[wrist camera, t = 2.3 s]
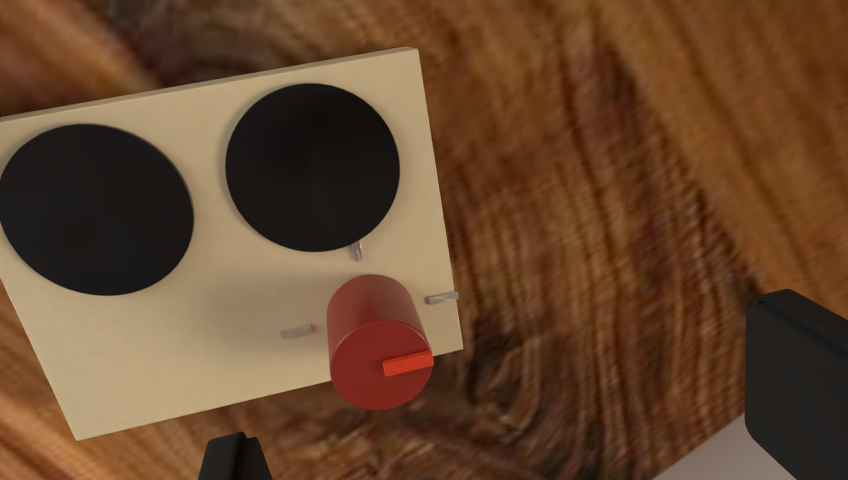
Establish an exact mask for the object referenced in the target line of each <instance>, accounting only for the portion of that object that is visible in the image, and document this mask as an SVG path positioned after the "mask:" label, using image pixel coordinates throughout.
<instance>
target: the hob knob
mask: <svg viewBox="0 0 848 480" xmlns="http://www.w3.org/2000/svg"><path fill="white" fill-rule="evenodd" d="M326 318H327V335H328V351H329V367H330V376H331V380H332V383H333V385H334V387H335V389H336V390H337V392H338V393H339V394H340V395H341V396H342V397H343V398H344V399H345V400H346V401H348V402H349V403H351V404H353V405H355V406H357V407H360V408H363V409H368V410H386V409H391V408H394V407H398V406H400V405H402V404H404V403H406V402H408V401H410V400H411V399H412V398H414V397H415V396H416V395H417V394H418V393H419V392H420V391H421V390H422V389H423V387H424V386H425V384H426V383H427V381H428V379H429V377H430V374H431V371H432V366H433V365H434V362H433V356H432V351H431V348H430V345H429V342H428V340H427V337H426V334H425V332H424V329H423V327H422V324H421V321H420V319H419V316H418V313H417V311H416V308H415V305H414V303H413V300H412V298H411V296H410V294H409V292H408V291H407V290H406V288H405V287H404V286H403V285H402V284H400V283H399V282H397V281H396V280H394V279H392V278H390V277H387V276H383V275H363V276H359V277H356V278H354V279H351V280H350V281H348V282H346V283H345V284H343V285H342V286H341V287H340V288H339V289H338V290H337V291H336V292H335V293H334V295H333V296H332V298H331V300H330V302H329V304H328V308H327V314H326Z"/></svg>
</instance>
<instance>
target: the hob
mask: <svg viewBox="0 0 848 480" xmlns="http://www.w3.org/2000/svg"><path fill="white" fill-rule="evenodd" d="M300 83H322V84H328V85H333V86H336V87H340V88H343V89H345V90H347V91H349V92H352V93H354V94H355V95H357V96H359V97H360V98H362V99H363V100H365V101H366V102H367V103H368V104H370V105H371V106H372V107H373V108H374V109H375V110H376V111H377V112H378V113H379V114H380V116H381V117H382V118H383V120H384V121H385V122H386V124H387V125H388V127H389V129H390V131H391V133H392V134H393V137H394V139H395V142H396V145H397V149H398V153H399V159H400V180H399V186H398V190H397V194H396V197H395V199H394V202H393V204H392V206H391V208H390V210H389V211H388V213H387V215H386V216H385V218H384V219H383V220H382V221H381V222H380V224H379V225H378V226H377V227H376V228H375V229H374V230H373V231H372V232H370V233H369V234H368V235H366V236H365V237H364V238H362V239H360V240H359V241H357V242H355V243H353V244H351V245H348V246H346V247H344V248H340V249H336V250H332V251H326V252H303V251H297V250H292V249H288V248H286V247H283V246H280V245H278V244H276V243H274V242H272V241H269V240H268V239H266V238H265V237H263V236H262V235H260V234H259V233H258V232H257V231H255V230H254V229H253V228H252V227H251V226H250V225H249V224H248V223H247V222H246V221H245V220H244V218H243V217H242V216H241V214H240V213H239V211H238V210H237V208H236V206H235V204H234V202H233V200H232V198H231V195H230V192H229V190H228V186H227V181H226V173H225V158H226V151H227V147H228V143H229V140H230V137H231V134H232V132H233V130H234V128H235V127H236V125H237V123H238V121H239V120H240V119H241V117H242V116H243V115H244V113H245V112H246V111H247V110H248V109H249V108H250V107H251V106H252V105H253V104H254V103H255V102H257V101H258V100H259V99H261V98H262V97H264V96H265V95H267V94H269V93H271V92H272V91H275V90H277V89H280V88H282V87H285V86H289V85H293V84H300ZM78 123H95V124H103V125H109V126H113V127H117V128H121V129H123V130H126V131H129V132H131V133H134V134H136V135H138V136H139V137H141V138H143V139H145V140H147V141H148V142H150V143H151V144H153V145H154V146H156V147H157V148H158V149H159V150H160V151H162V152H163V153H164V154H165V155H166V156H167V157H168V158H169V159H170V160H171V161H172V162H173V163H174V165H175V166H176V167H177V169H178V170H179V171H180V173H181V174H182V176H183V178H184V180H185V182H186V183H187V186H188V188H189V191H190V193H191V197H192V201H193V205H194V214H195V222H194V231H193V236H192V240H191V242H190V245H189V248H188V250H187V251H186V253H185V255H184V257H183V259H182V260H181V261H180V263H179V264H178V265H177V267H176V268H175V269H174V270H173V271H172V272H171V273H170V274H169V275H167V276H166V277H165V278H163V279H162V280H161V281H159V282H157V283H156V284H154V285H152V286H150V287H148V288H145V289H143V290H141V291H137V292H133V293H130V294H124V295H117V296H98V295H89V294H84V293H79V292H76V291H72V290H69V289H66V288H64V287H61V286H59V285H56V284H55V283H53V282H51V281H49V280H47V279H45V278H44V277H43V276H41V275H40V274H38V273H37V272H35V271H34V270H33V269H32V268H31V267H29V266H28V265H27V264H26V263H25V262H24V261H23V260H22V259H21V258H20V256H19V255H18V254H17V253H16V252H15V250H14V249H13V247H12V246H11V244H10V243H9V241H8V239H7V237H6V235H5V233H4V231H3V228H2V225H1V223H0V278H1V280H2V282H3V284H4V286H5V289H6V291H7V293H8V295H9V297H10V299H11V301H12V304H13V306H14V308H15V310H16V312H17V314H18V317H19V319H20V321H21V323H22V325H23V327H24V329H25V332H26V334H27V336H28V338H29V340H30V342H31V344H32V347H33V349H34V351H35V353H36V355H37V357H38V360H39V362H40V364H41V366H42V368H43V370H44V372H45V375H46V377H47V379H48V381H49V383H50V385H51V387H52V390H53V392H54V394H55V396H56V398H57V400H58V403H59V405H60V407H61V409H62V411H63V413H64V415H65V418H66V420H67V422H68V424H69V426H70V428H71V430H72V433H73V435H74V437H75V439H76V441H79V440H83V439H87V438H92V437H96V436H100V435H104V434H108V433H113V432H117V431H121V430H125V429H129V428H134V427H138V426H142V425H146V424H150V423H155V422H159V421H163V420H167V419H171V418H176V417H180V416H184V415H188V414H192V413H197V412H201V411H205V410H209V409H213V408H218V407H222V406H226V405H230V404H234V403H239V402H243V401H247V400H251V399H255V398H260V397H264V396H268V395H272V394H277V393H281V392H285V391H289V390H293V389H298V388H302V387H306V386H310V385H314V384H319V383H323V382H327V381H331V376H330V367H329V351H328V335H327V318H326V314H327V308H328V304H329V302H330V300H331V298H332V296H333V295H334V293H335V292H336V291H337V290H338V289H339V288H340V287H341V286H342V285H343V284H345V283H346V282H348V281H350V280H351V279H354V278H356V277H359V276H363V275H383V276H387V277H390V278H392V279H394V280H396V281H397V282H399V283H400V284H402V285H403V286H404V287H405V288H406V290H407V291H408V292H409V294H410V296H411V298H412V300H413V303H414V305H415V308H416V311H417V313H418V316H419V319H420V321H421V324H422V327H423V329H424V332H425V334H426V337H427V340H428V342H429V345H430V348H431V351H432V356H436V355H440V354H445V353H449V352H453V351H457V350H461V349H463V343H462V336H461V330H460V323H459V317H458V310H457V303H456V299H459V298H458V292H457V291H455V290H454V284H453V277H452V270H451V264H450V257H449V251H448V244H447V237H446V231H445V224H444V218H443V211H442V204H441V198H440V191H439V185H438V178H437V171H436V165H435V158H434V152H433V145H432V138H431V132H430V125H429V119H428V112H427V105H426V99H425V92H424V86H423V79H422V72H421V66H420V59H419V53H418V49H415V48H410V47H406V46H405V47H399V48H393V49H388V50H382V51H376V52H370V53H365V54H359V55H353V56H347V57H342V58H336V59H330V60H325V61H319V62H313V63H307V64H302V65H296V66H290V67H284V68H279V69H273V70H267V71H262V72H256V73H250V74H244V75H239V76H233V77H227V78H222V79H216V80H210V81H204V82H199V83H193V84H187V85H181V86H176V87H170V88H164V89H159V90H153V91H147V92H141V93H136V94H130V95H124V96H118V97H113V98H107V99H101V100H96V101H90V102H84V103H78V104H73V105H67V106H61V107H56V108H50V109H44V110H38V111H33V112H27V113H21V114H15V115H10V116H4V117H0V178H1V175H2V173H3V171H4V169H5V166H6V165H7V163H8V162H9V160H10V159H11V157H12V156H13V155H14V153H15V152H16V151H17V150H18V149H19V148H20V147H21V146H22V145H24V144H25V143H26V142H27V141H29V140H30V139H32V138H34V137H35V136H37V135H39V134H41V133H43V132H45V131H48V130H51V129H53V128H56V127H60V126H64V125H69V124H78Z"/></svg>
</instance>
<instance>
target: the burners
mask: <svg viewBox="0 0 848 480" xmlns="http://www.w3.org/2000/svg"><path fill="white" fill-rule="evenodd" d="M225 173H226V181H227V186H228V190H229V192H230V195H231V198H232V200H233V202H234V204H235V206H236V208H237V210H238V211H239V213H240V214H241V216H242V217H243V218H244V220H245V221H246V222H247V223H248V224H249V225H250V226H251V227H252V228H253V229H254V230H255V231H257V232H258V233H259V234H260V235H262V236H263V237H265V238H266V239H268V240H269V241H272V242H274V243H276V244H278V245H280V246H283V247H286V248H288V249H292V250H297V251H303V252H326V251H332V250H336V249H340V248H344V247H346V246H348V245H351V244H353V243H355V242H357V241H359V240H360V239H362V238H364V237H365V236H366V235H368V234H369V233H370V232H372V231H373V230H374V229H375V228H376V227H377V226H378V225H379V224H380V222H381V221H382V220H383V219H384V218H385V216H386V215H387V213H388V211H389V210H390V208H391V206H392V204H393V202H394V199H395V197H396V194H397V190H398V186H399V180H400V159H399V153H398V149H397V145H396V142H395V139H394V137H393V134H392V133H391V131H390V129H389V127H388V125H387V124H386V122H385V121H384V120H383V118H382V117H381V116H380V114H379V113H378V112H377V111H376V110H375V109H374V108H373V107H372V106H371V105H370V104H368V103H367V102H366V101H365V100H363V99H362V98H360V97H359V96H357V95H355V94H354V93H352V92H349V91H347V90H345V89H343V88H340V87H336V86H333V85H328V84H322V83H300V84H293V85H289V86H285V87H282V88H280V89H277V90H275V91H272V92H271V93H269V94H267V95H265V96H264V97H262V98H261V99H259V100H258V101H257V102H255V103H254V104H253V105H252V106H251V107H250V108H249V109H248V110H247V111H246V112H245V113H244V115H243V116H242V117H241V119H240V120H239V121H238V123H237V125H236V127H235V128H234V130H233V132H232V134H231V137H230V140H229V143H228V147H227V151H226V158H225ZM194 222H195V214H194V205H193V201H192V197H191V193H190V191H189V188H188V186H187V183H186V182H185V180H184V178H183V176H182V174H181V173H180V171H179V170H178V169H177V167H176V166H175V165H174V163H173V162H172V161H171V160H170V159H169V158H168V157H167V156H166V155H165V154H164V153H163V152H162V151H160V150H159V149H158V148H157V147H156V146H154V145H153V144H151V143H150V142H148V141H147V140H145V139H143V138H141V137H139V136H138V135H136V134H134V133H131V132H129V131H126V130H123V129H121V128H117V127H113V126H109V125H103V124H95V123H78V124H69V125H64V126H60V127H56V128H53V129H51V130H48V131H45V132H43V133H41V134H39V135H37V136H35V137H34V138H32V139H30V140H29V141H27V142H26V143H25V144H24V145H22V146H21V147H20V148H19V149H18V150H17V151H16V152H15V153H14V155H13V156H12V157H11V159H10V160H9V162H8V163H7V165H6V166H5V169H4V171H3V173H2V175H1V178H0V223H1V225H2V228H3V231H4V233H5V235H6V237H7V239H8V241H9V243H10V244H11V246H12V247H13V249H14V250H15V252H16V253H17V254H18V255H19V256H20V258H21V259H22V260H23V261H24V262H25V263H26V264H27V265H28V266H29V267H31V268H32V269H33V270H34V271H35V272H37V273H38V274H40V275H41V276H43V277H44V278H45V279H47V280H49V281H51V282H53V283H55V284H56V285H59V286H61V287H64V288H66V289H69V290H72V291H76V292H79V293H84V294H89V295H98V296H117V295H124V294H130V293H133V292H137V291H141V290H143V289H145V288H148V287H150V286H152V285H154V284H156V283H157V282H159V281H161V280H162V279H163V278H165V277H166V276H167V275H169V274H170V273H171V272H172V271H173V270H174V269H175V268H176V267H177V265H178V264H179V263H180V261H181V260H182V259H183V257H184V255H185V253H186V251H187V250H188V248H189V245H190V242H191V240H192V236H193V231H194Z"/></svg>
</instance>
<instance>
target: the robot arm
mask: <svg viewBox="0 0 848 480" xmlns="http://www.w3.org/2000/svg"><path fill="white" fill-rule="evenodd" d="M745 424H746V427H747V430H748V432H749V434H750V435H751V436H752V438H753V439H754V440H755V441H756V442H757V443H758V444H759V445H760V446H761V447H762V448H763V449H764V450H765V451H766V452H768V453H769V454H770V455H771V456H772V457H773V458H774V459H775V460H776V461H777V462H778V463H779V464H780V465H781V466H782V467H784V468H785V469H786V470H787V471H788V472H789V473H790V474H791V475H792V476H793V477H794V478H795V479H797V480H848V320H846V319H844V318H843V317H841V316H839V315H837V314H835V313H833V312H832V311H830V310H828V309H826V308H824V307H822V306H821V305H819V304H817V303H815V302H813V301H811V300H810V299H808V298H806V297H804V296H802V295H800V294H799V293H797V292H795V291H793V290H790V289H783V290H779V291H775V292H772V293H768V294H764V295H760V296H758V297H756V298H755V299H754V301H753V303H752V306H750V307H749V308H748V310H747V314H746V370H745ZM198 480H272V477H271V474H270V471H269V468H268V465H267V463H266V460H265V457H264V454H263V451H262V449H261V446H260V443H259V441H258V439H257V438H256V437H252V438H248V439H247V437H246V435H245V434H244V432H238V433H234V434H230V435H226V436H222V437H219V438H215V439H211V440H210V441H208V444H207V447H206V451H205V454H204V458H203V462H202V466H201V470H200V474H199V478H198Z"/></svg>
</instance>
